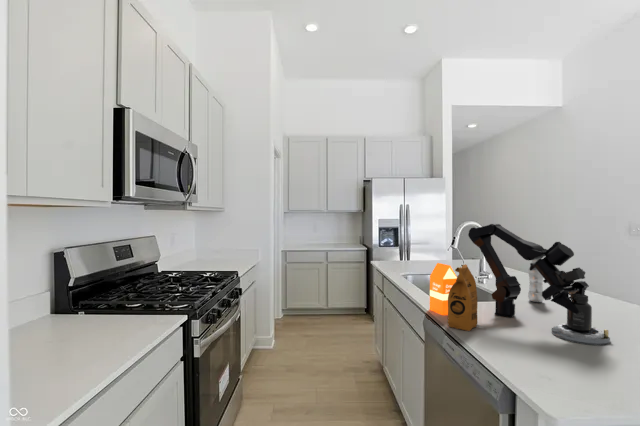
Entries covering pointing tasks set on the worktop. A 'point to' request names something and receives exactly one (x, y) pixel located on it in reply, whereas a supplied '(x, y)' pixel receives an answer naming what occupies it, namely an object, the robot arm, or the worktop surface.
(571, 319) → the supplement bottle
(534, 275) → the plastic bottle
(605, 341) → the seat plate
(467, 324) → the coffee package
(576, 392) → the worktop surface
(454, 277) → the orange juice
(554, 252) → the robot arm
